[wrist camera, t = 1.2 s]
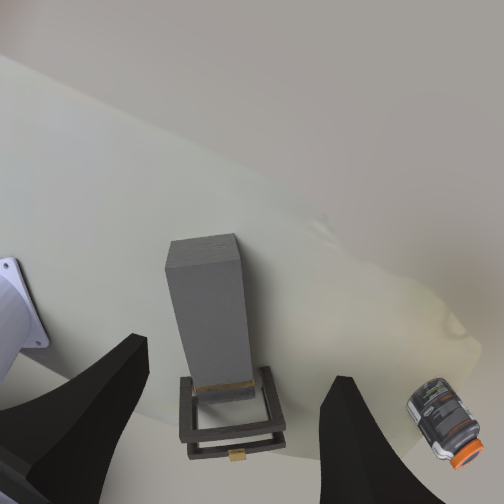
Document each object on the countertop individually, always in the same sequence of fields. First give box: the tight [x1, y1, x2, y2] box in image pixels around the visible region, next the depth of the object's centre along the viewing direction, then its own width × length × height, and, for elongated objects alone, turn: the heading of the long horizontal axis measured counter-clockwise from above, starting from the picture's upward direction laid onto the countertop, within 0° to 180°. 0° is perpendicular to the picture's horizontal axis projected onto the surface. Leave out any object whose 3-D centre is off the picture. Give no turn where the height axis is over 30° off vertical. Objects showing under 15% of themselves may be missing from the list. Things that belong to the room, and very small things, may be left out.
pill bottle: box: [407, 378, 484, 470], centre depth 27 cm, size 6×6×11 cm
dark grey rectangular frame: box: [187, 388, 286, 461], centre depth 23 cm, size 7×1×7 cm, turn 94°
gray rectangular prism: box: [165, 233, 255, 405], centre depth 20 cm, size 4×11×4 cm, turn 4°
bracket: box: [179, 366, 286, 443], centre depth 22 cm, size 7×1×6 cm, turn 94°
